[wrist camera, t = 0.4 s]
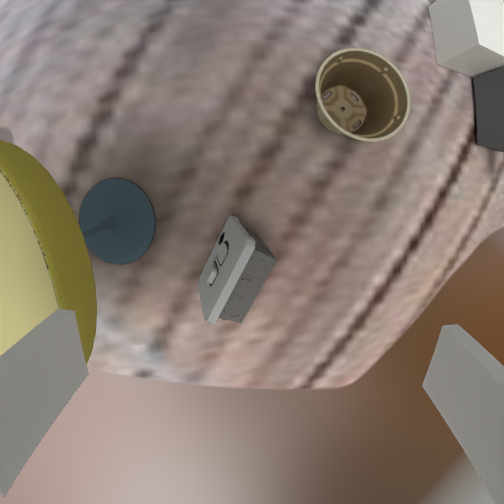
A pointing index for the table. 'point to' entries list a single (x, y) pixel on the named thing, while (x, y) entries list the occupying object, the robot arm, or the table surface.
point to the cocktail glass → (60, 244)
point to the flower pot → (361, 95)
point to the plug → (490, 108)
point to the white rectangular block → (468, 35)
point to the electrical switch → (233, 273)
